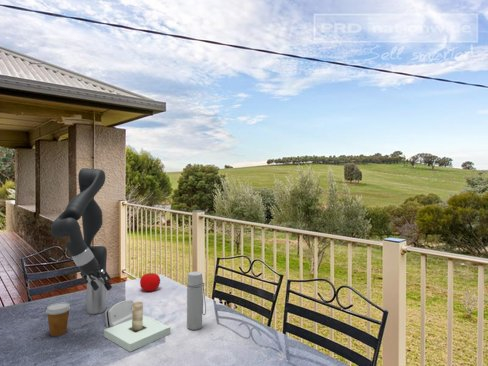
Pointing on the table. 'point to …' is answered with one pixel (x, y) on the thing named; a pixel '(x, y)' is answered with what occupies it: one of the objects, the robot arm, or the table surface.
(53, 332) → the disposable coffee cup
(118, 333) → the collar block
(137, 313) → the birch pin
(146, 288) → the tomato
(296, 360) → the table surface
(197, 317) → the water bottle
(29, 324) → the table surface
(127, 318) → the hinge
